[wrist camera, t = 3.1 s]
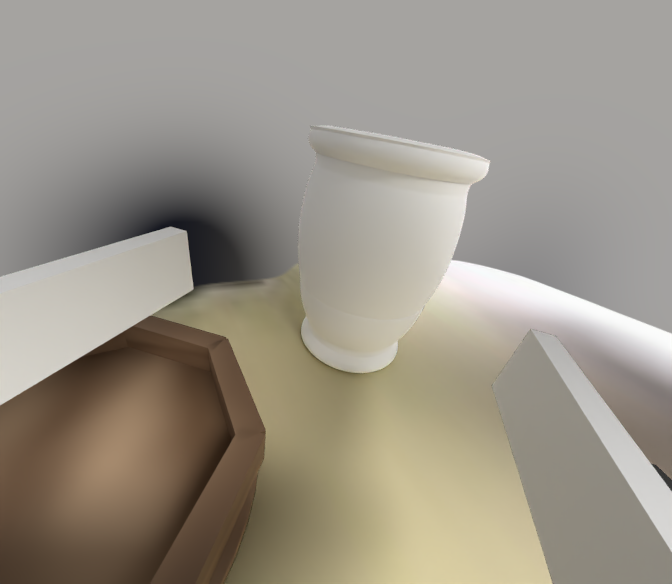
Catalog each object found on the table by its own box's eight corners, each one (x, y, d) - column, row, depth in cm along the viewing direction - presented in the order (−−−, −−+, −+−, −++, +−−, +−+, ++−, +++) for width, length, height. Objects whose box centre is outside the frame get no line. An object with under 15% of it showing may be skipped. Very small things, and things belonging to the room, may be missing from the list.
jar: (283, 302, 26) (298, 122, 18) (379, 303, 29) (426, 148, 21) (295, 394, 17) (334, 121, 9) (432, 381, 20) (543, 166, 12)
